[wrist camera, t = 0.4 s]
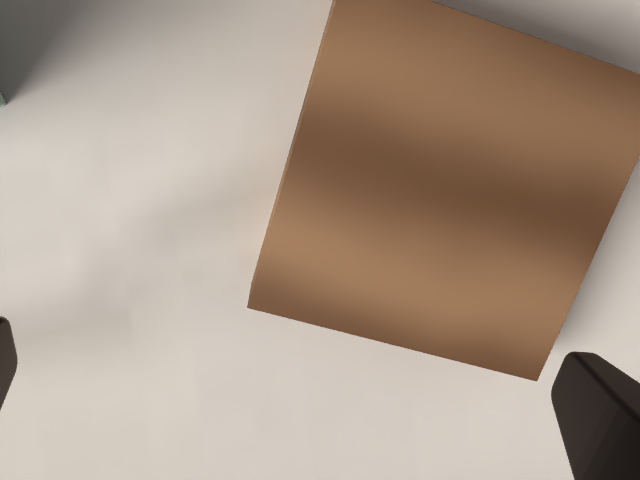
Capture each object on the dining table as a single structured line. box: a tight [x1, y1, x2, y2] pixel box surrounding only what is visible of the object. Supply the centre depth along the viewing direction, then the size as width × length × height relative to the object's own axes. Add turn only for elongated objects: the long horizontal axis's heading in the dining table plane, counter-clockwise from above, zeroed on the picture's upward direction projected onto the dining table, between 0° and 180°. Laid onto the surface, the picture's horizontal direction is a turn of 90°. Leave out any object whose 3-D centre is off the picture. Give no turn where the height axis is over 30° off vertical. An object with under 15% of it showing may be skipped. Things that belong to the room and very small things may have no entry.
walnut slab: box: [247, 0, 640, 381], centre depth 21 cm, size 12×12×3 cm
